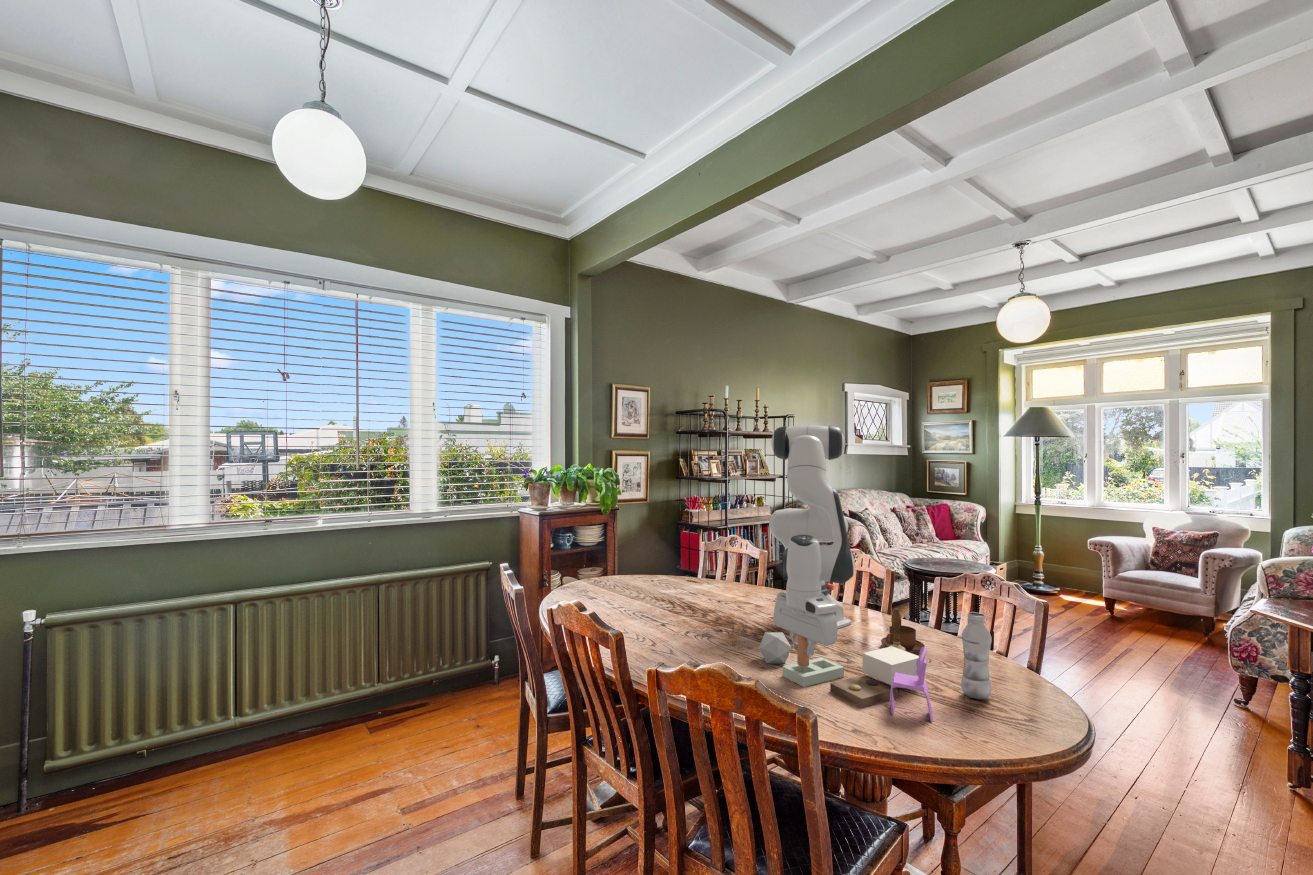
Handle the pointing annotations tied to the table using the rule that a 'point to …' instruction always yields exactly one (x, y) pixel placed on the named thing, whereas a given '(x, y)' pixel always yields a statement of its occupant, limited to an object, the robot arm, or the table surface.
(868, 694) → the pattern board
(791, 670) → the socket board
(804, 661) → the terracotta peg
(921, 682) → the toy chair
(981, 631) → the plastic bottle
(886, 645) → the cup and saucer
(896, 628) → the hand bell
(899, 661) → the white block
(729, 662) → the table surface
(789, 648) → the die
